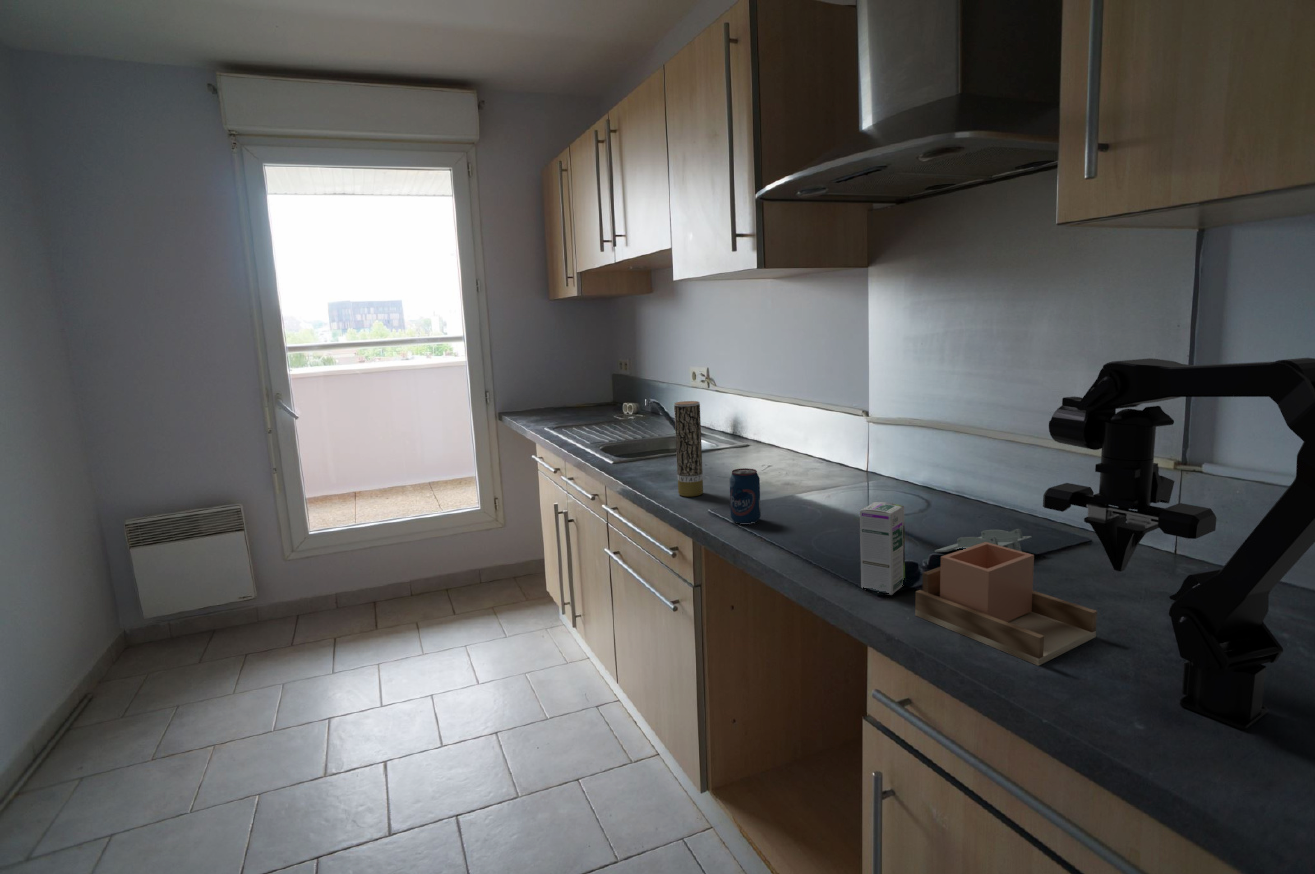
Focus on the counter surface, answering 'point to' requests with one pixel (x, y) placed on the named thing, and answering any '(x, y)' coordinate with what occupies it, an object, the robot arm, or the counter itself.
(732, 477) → the soda can
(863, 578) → the syrup box
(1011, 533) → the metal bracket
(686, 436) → the paper tube
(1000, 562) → the box
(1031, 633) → the wooden bay
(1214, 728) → the counter surface
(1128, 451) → the robot arm
